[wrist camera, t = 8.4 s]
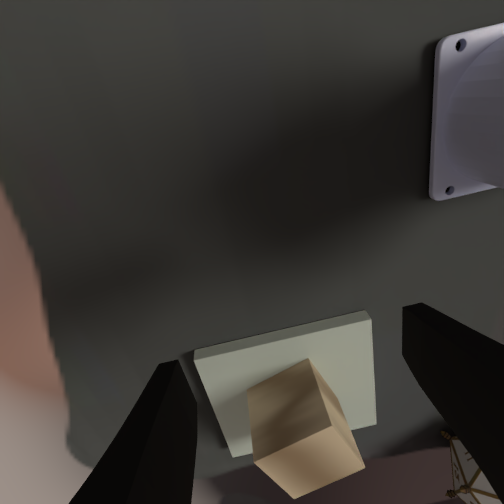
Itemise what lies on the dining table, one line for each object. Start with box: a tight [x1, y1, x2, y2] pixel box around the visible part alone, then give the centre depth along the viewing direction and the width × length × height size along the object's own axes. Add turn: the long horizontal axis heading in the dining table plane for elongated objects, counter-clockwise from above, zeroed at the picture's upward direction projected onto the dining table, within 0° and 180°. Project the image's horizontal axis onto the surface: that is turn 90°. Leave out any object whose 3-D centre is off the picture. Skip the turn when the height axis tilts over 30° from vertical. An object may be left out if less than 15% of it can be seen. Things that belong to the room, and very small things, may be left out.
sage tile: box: [194, 310, 376, 457], centre depth 24 cm, size 12×11×1 cm
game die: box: [440, 431, 502, 504], centre depth 25 cm, size 9×8×10 cm
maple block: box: [247, 358, 365, 499], centre depth 21 cm, size 5×5×5 cm
